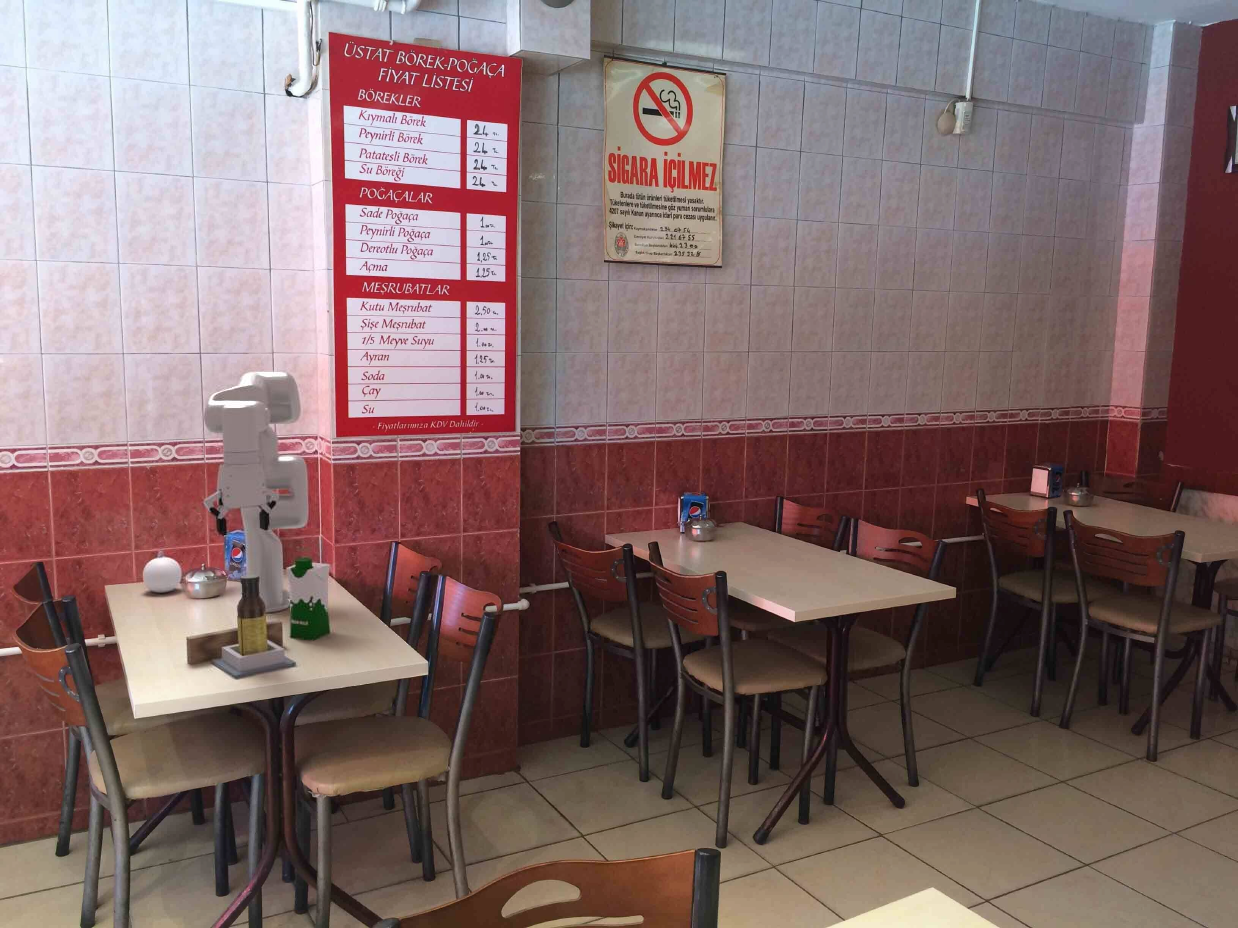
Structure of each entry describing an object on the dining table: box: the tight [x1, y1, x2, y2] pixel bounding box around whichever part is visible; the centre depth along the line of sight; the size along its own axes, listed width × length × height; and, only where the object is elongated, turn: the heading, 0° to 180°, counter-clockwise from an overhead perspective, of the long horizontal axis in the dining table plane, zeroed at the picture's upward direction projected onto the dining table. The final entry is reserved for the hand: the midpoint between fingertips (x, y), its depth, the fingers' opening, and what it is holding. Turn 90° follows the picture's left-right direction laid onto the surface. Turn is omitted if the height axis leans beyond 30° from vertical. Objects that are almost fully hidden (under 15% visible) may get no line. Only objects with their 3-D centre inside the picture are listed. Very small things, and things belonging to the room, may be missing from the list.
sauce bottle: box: [236, 574, 268, 656], centre depth 228 cm, size 6×6×20 cm
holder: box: [210, 640, 297, 680], centre depth 229 cm, size 14×14×4 cm
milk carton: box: [286, 557, 331, 641], centre depth 251 cm, size 9×9×20 cm
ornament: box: [142, 550, 183, 594], centre depth 291 cm, size 10×10×12 cm
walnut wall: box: [185, 619, 284, 665], centre depth 236 cm, size 22×2×6 cm, turn 132°
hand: (243, 532), depth 230 cm, fingers open, 9 cm apart
